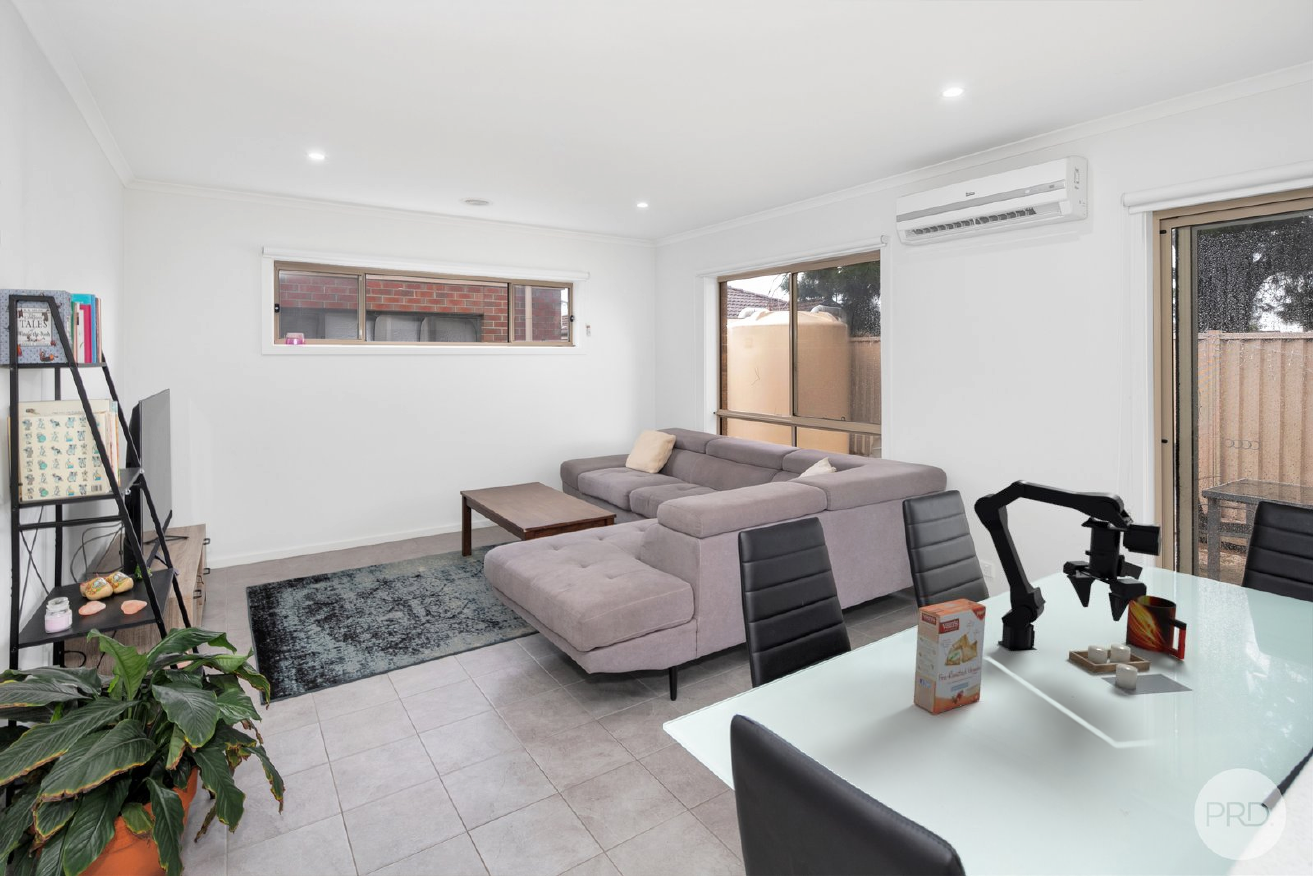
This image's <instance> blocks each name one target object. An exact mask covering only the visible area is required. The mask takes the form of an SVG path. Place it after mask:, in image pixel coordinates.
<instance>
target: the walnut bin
mask: <svg viewBox="0 0 1313 876" xmlns="http://www.w3.org/2000/svg"><path fill="white" fill-rule="evenodd" d="M1106 649H1107V650H1108V652H1107V658H1110V657H1111V648H1106ZM1068 659H1070V660H1071V661H1073V662H1075V663H1076V664H1078V665H1079V666H1081V667H1083V668H1085V669H1087V670H1089V671H1090V672H1092V673H1094V674H1098V673H1114V672H1115V673H1116V666H1117V665H1118V664H1126V665H1130V666H1133V667H1135V668H1137V669H1138V671H1146V670H1150V666H1151V661H1148V660H1147V659H1144V658H1143V657H1140V656H1138V655H1136V653H1134V652H1133V653H1132V652H1131V651H1130V662H1124V663H1111V662H1110V663H1107V664H1094V663H1092V662H1090V661H1089V660H1087V659H1088V649H1085V650H1070V651H1068Z"/></svg>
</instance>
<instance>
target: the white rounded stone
mask: <svg viewBox="0 0 1313 876" xmlns="http://www.w3.org/2000/svg"><path fill="white" fill-rule="evenodd" d="M1138 671H1139V670H1138V669H1137V668H1135V667H1133V666H1130V665H1126V664H1118V665H1117V666H1116V672H1115V677H1116V680H1115V684H1116V685H1117V686H1119V687H1122V688H1125V689H1136V685H1137V675H1138Z"/></svg>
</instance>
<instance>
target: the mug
mask: <svg viewBox="0 0 1313 876" xmlns="http://www.w3.org/2000/svg"><path fill="white" fill-rule="evenodd" d="M1127 607H1128V608H1127V618H1126V619H1127V620H1126V630H1125V631H1126V634H1125V646H1128V645H1131V646H1132V647H1134V648H1137V649H1140V650H1145V651H1149V652H1154V653H1167V654H1168V655H1171V656H1173V657H1175V658H1177V659H1179V660H1185V655H1186V654H1185V653H1186V637H1187V625H1188V624H1187V623H1186V622H1184V621H1181V620H1180V619H1177V618H1176V617H1177V604H1176V603H1175V602H1174V601H1172V600H1169V599H1168V598H1167V599H1166V598H1163V597H1160V596H1153V595H1147V594H1146V596H1141V597H1140V598H1134V599H1133V600H1131V601H1130V603H1129V604H1128V606H1127ZM1176 628H1177V629H1178V638H1177V641H1178V642H1177V649H1176V648H1175V647H1174V641H1175V631H1176V630H1175V629H1176Z"/></svg>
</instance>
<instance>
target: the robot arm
mask: <svg viewBox="0 0 1313 876" xmlns="http://www.w3.org/2000/svg"><path fill="white" fill-rule="evenodd" d="M1021 498H1022V499H1025V500H1026V499H1027V500H1031V501H1036V502H1041V503H1043V504H1044V503H1046V504H1050V505H1055V506H1058V507H1059V506H1060V507H1064V508H1069V509H1073V510H1075V511H1078V512H1080V513H1081V514H1084V515H1086V516H1089V517H1088V519H1087V520H1085V521H1083V522H1082V523H1081V525H1080V526H1081V527H1082V528H1089V529H1090V544H1089V549H1086V550H1084V551H1085V553H1084V554H1085V555H1086V556H1088V561H1085V560H1073V561H1069V560H1068V561H1065V563H1063V567H1062V573H1064V574H1066V578H1067V579H1068V580H1069V581H1070V583H1071V585H1072V587H1073V589H1074V591H1075V593H1076V595H1077V597H1078V599H1079V601H1080V603H1081V605H1082V608H1088V607H1089V604H1090V601H1091V600H1090V599H1091V598H1090V597H1091V591H1092V585H1093V583H1094V582H1095V581H1096V580H1097V581H1100V582H1102V583H1105V584H1106V585H1108V588H1109V590H1110V591H1111V592H1108V599H1109V606H1110V609H1111V610H1110V612H1111V616H1112V620H1113V621H1114V622H1120V620H1121V618H1122V616H1123V614H1124V612H1125V610H1126V609H1127V607H1128V604H1129V603H1130V601H1131V600H1133V599H1134V598H1140V597H1141V596H1146V595H1147V593H1148V592H1147V591H1148V590H1147V589H1148V587H1147V585H1146V583H1144V582H1142V581H1139V580H1140V577H1141V575H1142V572H1143V569H1144V567H1142V566H1139V565H1137V564H1134V563H1133V562H1129V561H1126V556H1125V554H1123V553H1120V552H1121V550H1120V548H1121V539H1122V547H1124V548H1125V550H1127V551H1128V553H1135V554H1141V555H1149V556H1155V557H1159V556H1160V555H1161V551H1162V541H1163V538H1162V535H1161V534H1162V531H1161V527H1162V525H1160V524H1155V523H1154V524H1153V523H1152V524H1151V523H1150V524H1147V523H1138V522H1134V519H1133V518H1132V517H1131V516H1130V515H1129V513H1128V512H1127V511H1126V509H1125V503H1124V500H1123V499H1122V498H1121V497H1120V496H1119V495H1118V494H1117V493H1112V492H1099V491H1097V492H1096V491H1088V492H1087V491H1084V492H1083V491H1077V490H1076V491H1074V490H1070V489H1066V488H1060V487H1054V486H1051V485H1045V484H1040V483H1035V482H1030V481H1026V480H1025V479H1019V480H1016V481H1013V482H1012V483H1010V485H1008V486H1007V487H1005V488H1003V489H1002V490H999V491H998V492H996V493H989V494H986V495H984V496H982V497H979V498H978V499H977V500H976V501H975V503H974V505H973V510H974V514H975V515H976V516H977V518H978V519H979V522H980V523H981V524H982V525H983V526H984V527H983V528H985V529H986V530H987V532H989V535H990V537H991V540H992V542H993V546H994V549H995V551H996V553H997V557H998V558H999V562H1000V565H1001V568H1002V570H1003V572H1004V575H1005V578H1006V580H1007V582H1008V587H1009V601H1010V607H1011V608H1010V609H1009V611H1007V612H1005V614H1004V615H1003V616H1002V617H1001V622H1002V639H1001V640H998V641H997V644H999V645H1000V646H1002V647H1004V648H1005V649H1007V650H1008V651H1010V652H1026V651H1037V650H1038V649H1037V648H1036V647H1034V646H1035V640H1036V639H1035V638H1036V637H1035V636H1036V634H1035V633H1036V630H1035V629H1034V628H1035V625H1034V624H1032V623H1034V622H1036V621H1037V620H1038V619H1039V617H1040V616H1042V614H1043V613H1044V611H1045V604H1046V603H1047V601H1046V600H1045V599H1044V597H1043V595H1042V591H1041V587H1040V586H1037V587H1034V586H1033V585H1032V584H1031V583H1030V581H1029V580H1028V577H1027V574H1026V572H1025V569H1024V566H1023V564H1022V561H1021V558H1020V555H1019V553H1018V551H1017V548H1016V546H1015V542H1014V540H1013V536H1012V534H1011V532H1010V530H1009V521H1008V520H1009V519H1008V518H1009V517H1008V516H1009V515H1008V514H1009V513H1008V507H1007V506H1008V505H1009V504H1012V503H1013V502H1015V501H1017V500H1018V499H1021ZM1122 533H1123V535H1122ZM1121 536H1122V538H1121ZM1126 577H1129V578H1126Z"/></svg>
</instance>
